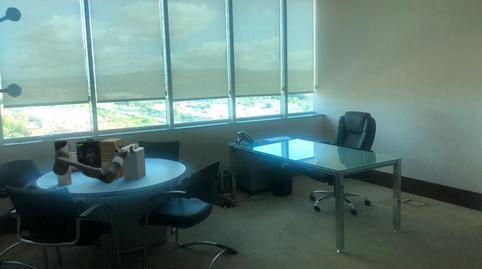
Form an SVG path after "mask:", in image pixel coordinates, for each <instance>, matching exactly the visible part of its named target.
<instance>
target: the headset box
mask: <svg viewBox="0 0 482 269" xmlns="http://www.w3.org/2000/svg"><path fill="white" fill-rule="evenodd" d="M103 140H105V139H104V138H100V139H93V138H88V139H86V140H85V139H84V140H78V141H77V142H76V143H75V146H76V147H75V148H76V154H77V162H78V163H81V164H84V165H86V166H90V167H94V168H97V169H98V168H102V164H101V153H100V141H103Z"/></svg>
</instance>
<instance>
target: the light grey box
mask: <svg viewBox="0 0 482 269" xmlns="http://www.w3.org/2000/svg"><path fill="white" fill-rule="evenodd" d="M133 151H134V152H133V153H132V155H131V156H128V155H127V156H126V159H125V161H124V163H123V172H124V176H123V179H124V180H140V179H142V178H143V177H145V176H147V171H146V170H147V169H146V158H145V156H146V155H145V147H139V148H138V149H134V150H133Z"/></svg>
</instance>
